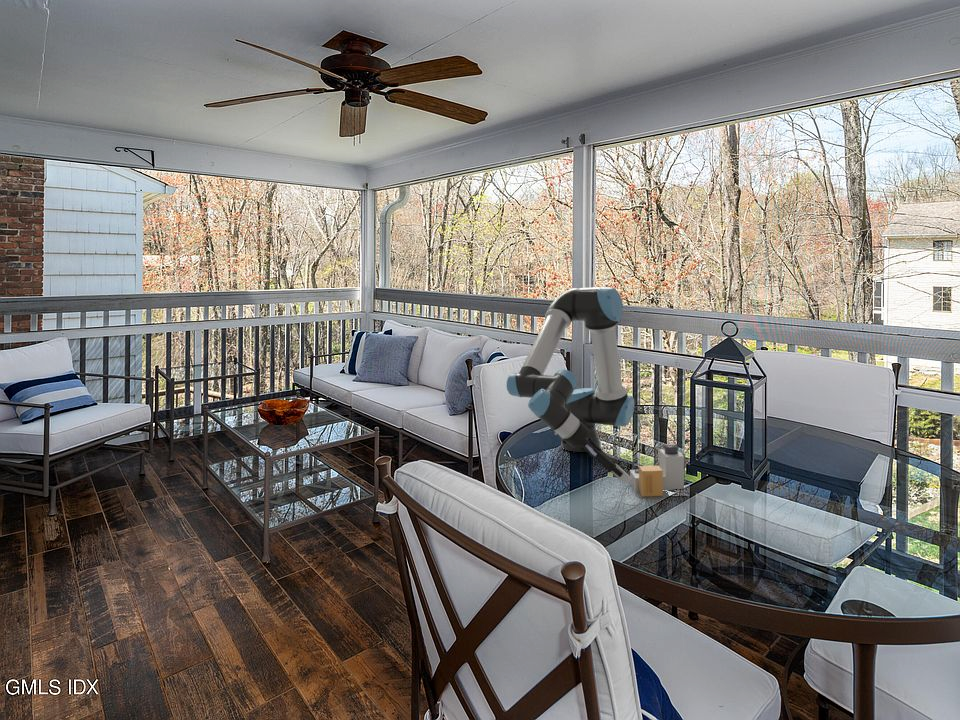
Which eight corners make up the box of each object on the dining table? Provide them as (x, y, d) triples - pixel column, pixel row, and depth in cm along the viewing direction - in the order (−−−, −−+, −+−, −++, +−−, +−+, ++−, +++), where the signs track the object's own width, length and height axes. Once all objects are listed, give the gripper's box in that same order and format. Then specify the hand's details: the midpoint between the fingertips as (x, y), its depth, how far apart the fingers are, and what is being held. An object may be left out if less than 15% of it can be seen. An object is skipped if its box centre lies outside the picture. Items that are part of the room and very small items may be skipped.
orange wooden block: (643, 497, 173) (642, 471, 171) (639, 490, 177) (638, 466, 176) (663, 496, 172) (663, 470, 171) (658, 490, 177) (658, 465, 176)
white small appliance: (639, 498, 173) (639, 457, 171) (629, 483, 185) (629, 444, 183) (689, 496, 173) (689, 455, 171) (676, 481, 185) (676, 442, 183)
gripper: (560, 433, 179) (615, 481, 181) (565, 445, 166) (624, 497, 168) (577, 416, 178) (631, 465, 180) (583, 427, 165) (642, 479, 167)
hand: (628, 480), depth 174 cm, fingers closed
